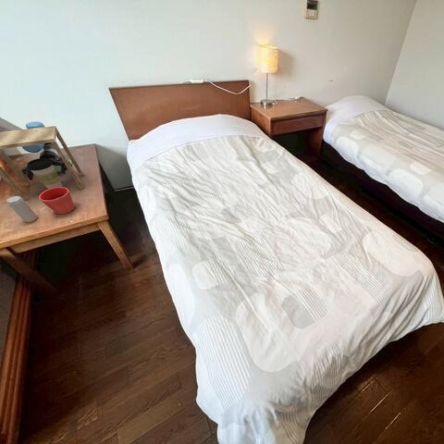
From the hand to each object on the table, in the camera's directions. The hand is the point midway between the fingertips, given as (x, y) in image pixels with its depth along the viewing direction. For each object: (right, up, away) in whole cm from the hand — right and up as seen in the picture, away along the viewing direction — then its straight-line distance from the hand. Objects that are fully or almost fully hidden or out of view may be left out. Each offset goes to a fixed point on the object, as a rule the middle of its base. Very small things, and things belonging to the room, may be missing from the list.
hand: (46, 175), depth 128 cm
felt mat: (-13, +9, +20) cm, 25 cm away
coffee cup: (-1, -5, +6) cm, 8 cm away
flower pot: (+15, -18, -6) cm, 24 cm away
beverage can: (+6, -23, -12) cm, 27 cm away
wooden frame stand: (-1, -5, +6) cm, 8 cm away
